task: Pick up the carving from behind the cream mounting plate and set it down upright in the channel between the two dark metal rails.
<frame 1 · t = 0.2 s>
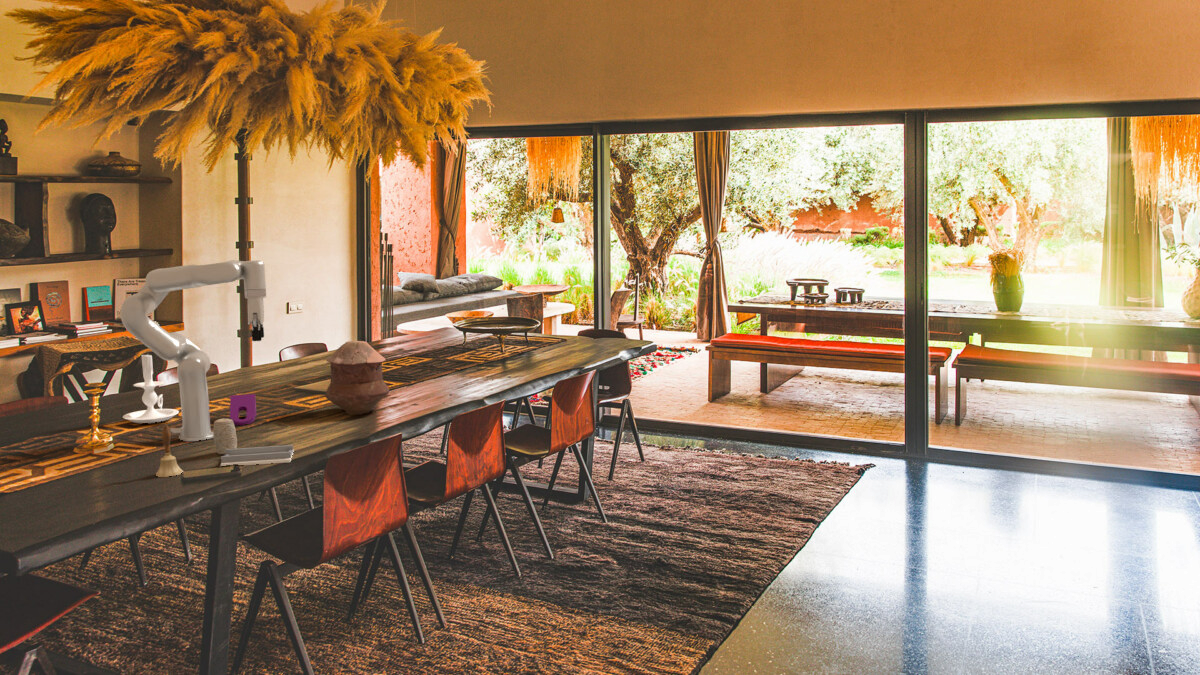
hand: (258, 339, 350), 36 cm above the table, tool pointing down, fingers open, 9 cm apart
hand bell: (169, 474, 302), on the table
candlestick: (153, 421, 381), on the table
pottery vessel: (358, 412, 393), on the table
mounting bracket: (243, 421, 378), on the table
rail plate: (258, 459, 319), on the table
carving: (226, 453, 328), on the table
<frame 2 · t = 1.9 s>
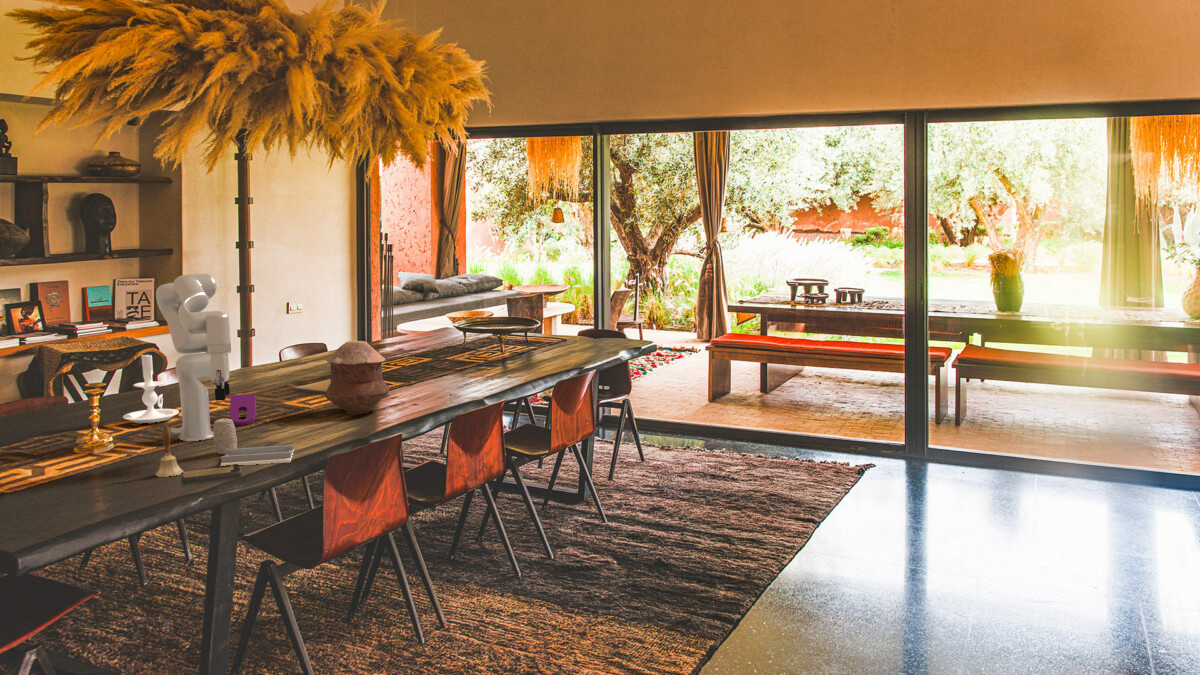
hand: (222, 397, 325), 20 cm above the table, tool pointing down, fingers open, 9 cm apart
nothing on the table moved.
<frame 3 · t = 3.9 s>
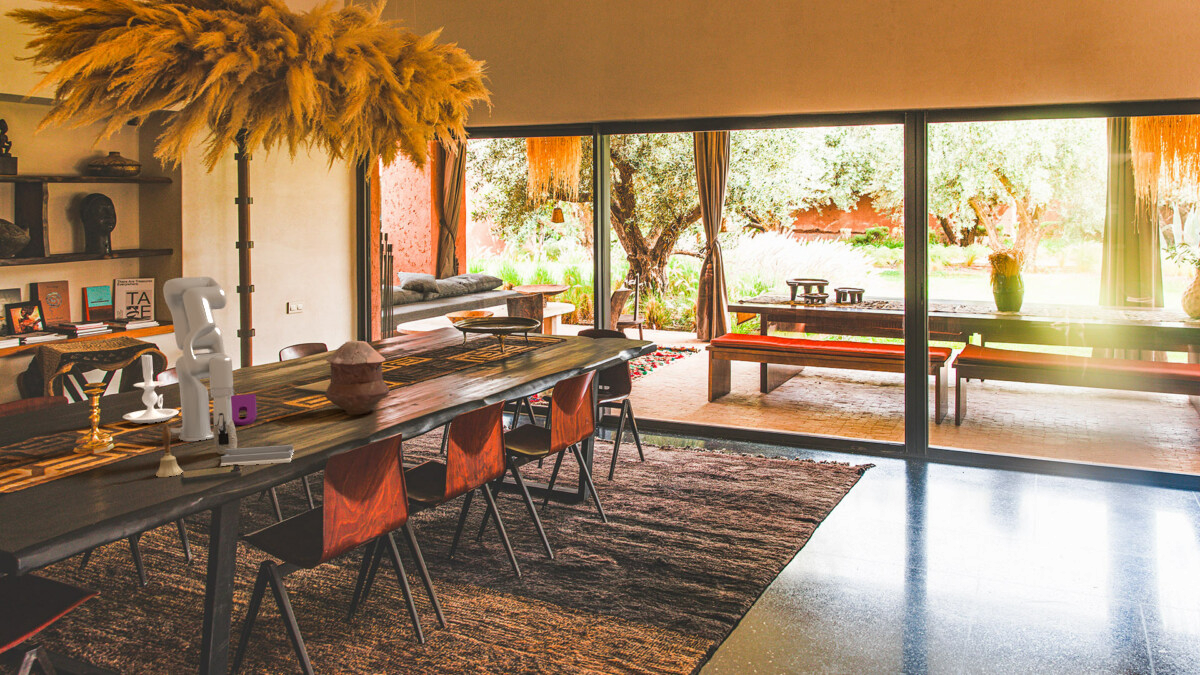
hand: (225, 441, 327), 4 cm above the table, tool pointing down, fingers closed on carving, 6 cm apart
carving: (226, 453, 328), on the table, touching gripper
everything else where it was.
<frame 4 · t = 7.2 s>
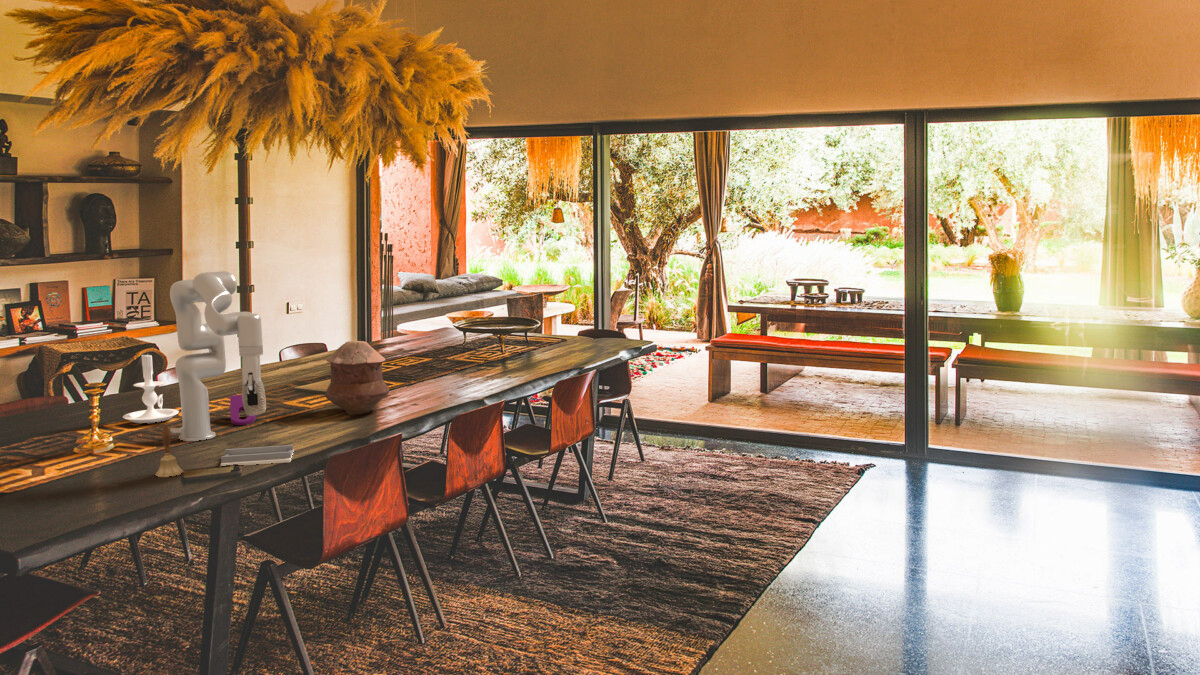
hand: (254, 402, 316), 20 cm above the table, tool pointing down, fingers closed on carving, 6 cm apart
carving: (255, 415, 317), point 15 cm above the table, touching gripper
everything else where it was.
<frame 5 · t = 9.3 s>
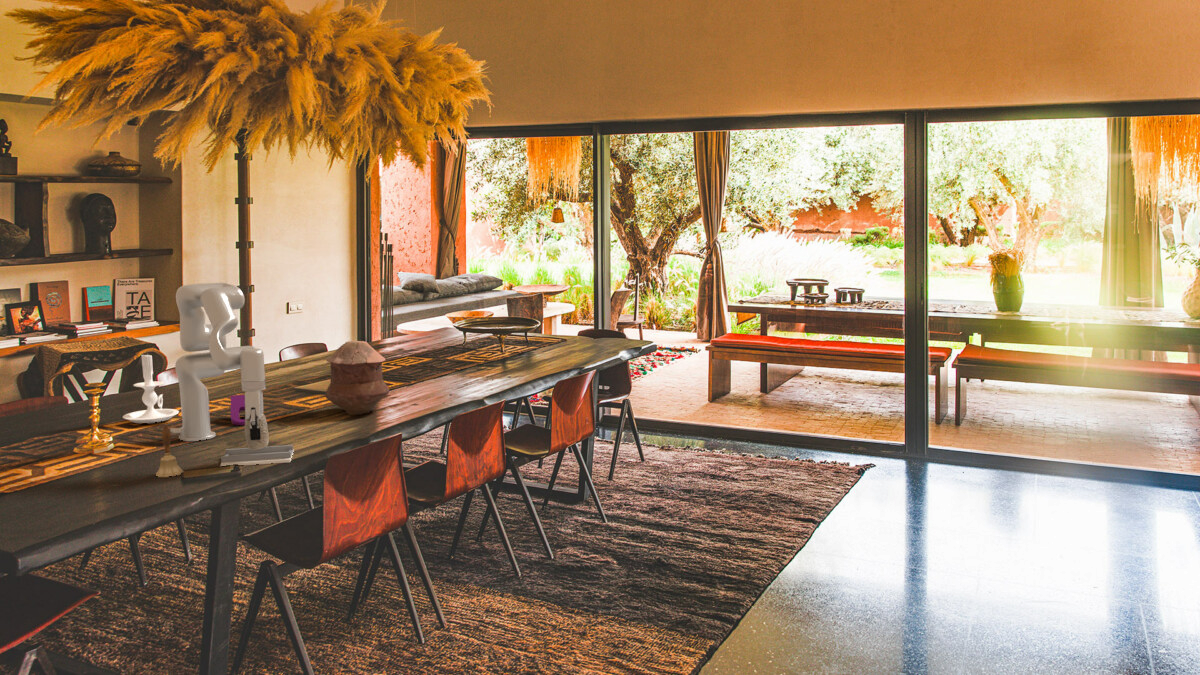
hand: (256, 436, 318), 8 cm above the table, tool pointing down, fingers closed on carving, 6 cm apart
carving: (257, 449, 318), point 4 cm above the table, touching gripper
everything else where it was.
when the fingers open (6 cm above the table, at t = 10.6 s): carving drops 1 cm, resting on rail plate.
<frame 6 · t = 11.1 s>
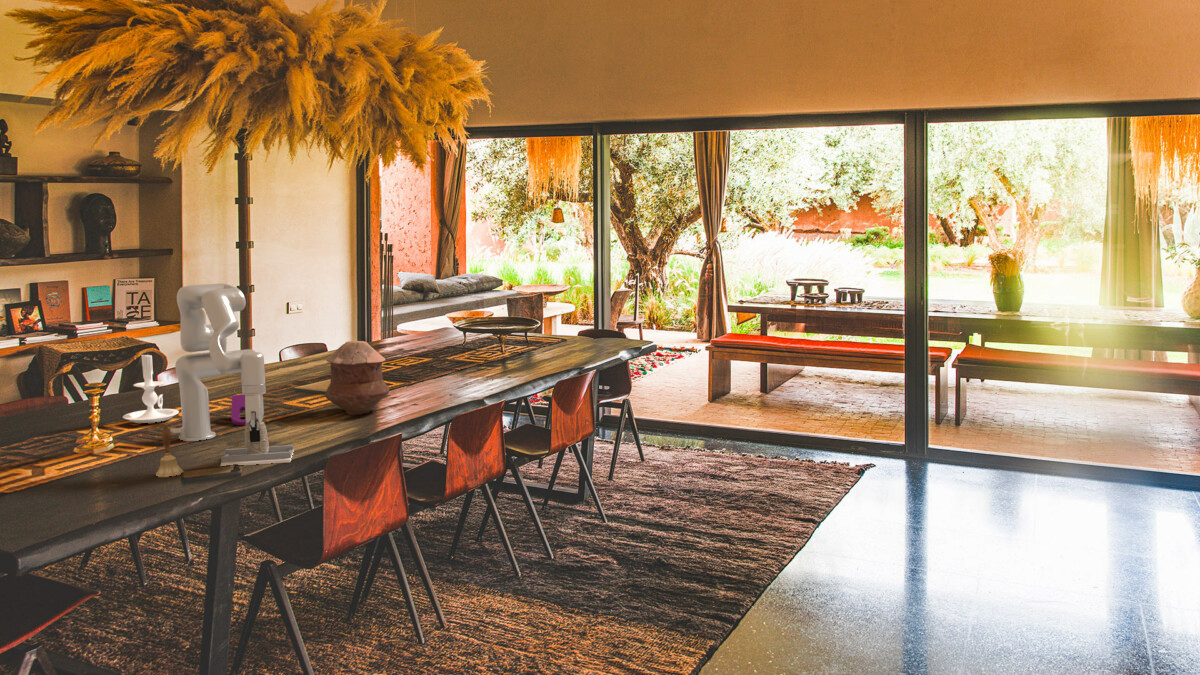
hand: (257, 438, 318), 7 cm above the table, tool pointing down, fingers open, 9 cm apart
carving: (257, 457, 319), point 1 cm above the table, touching rail plate
everything else where it was.
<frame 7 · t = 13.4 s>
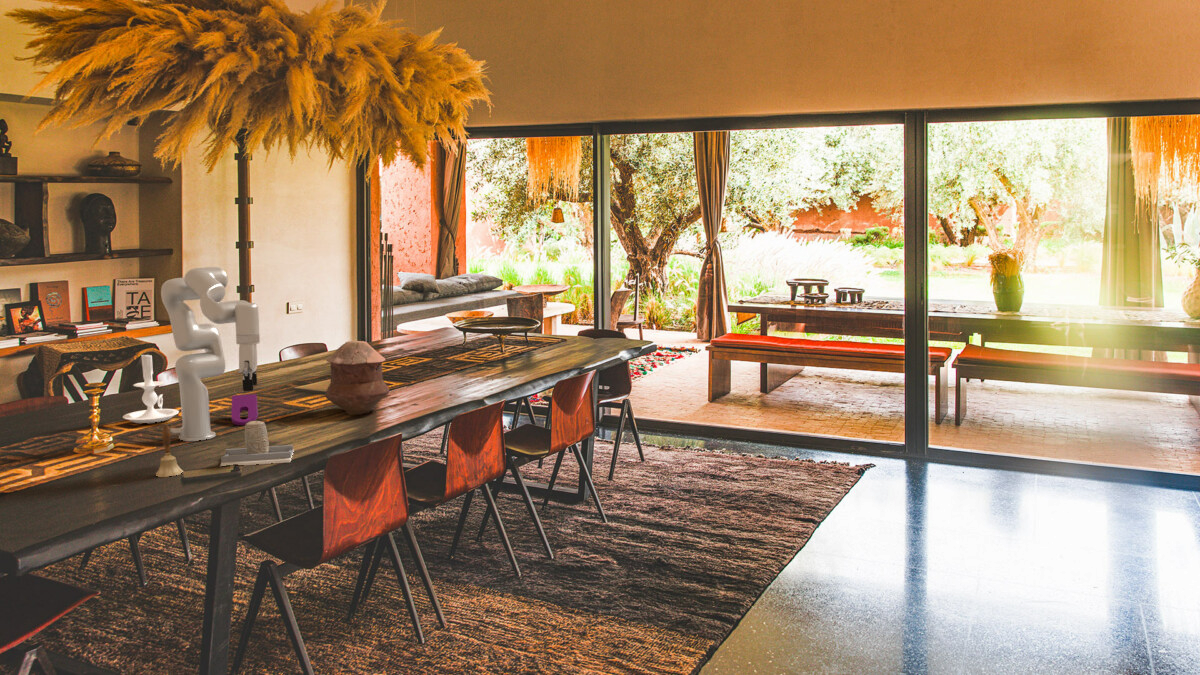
hand: (250, 387, 323), 23 cm above the table, tool pointing down, fingers open, 9 cm apart
nothing on the table moved.
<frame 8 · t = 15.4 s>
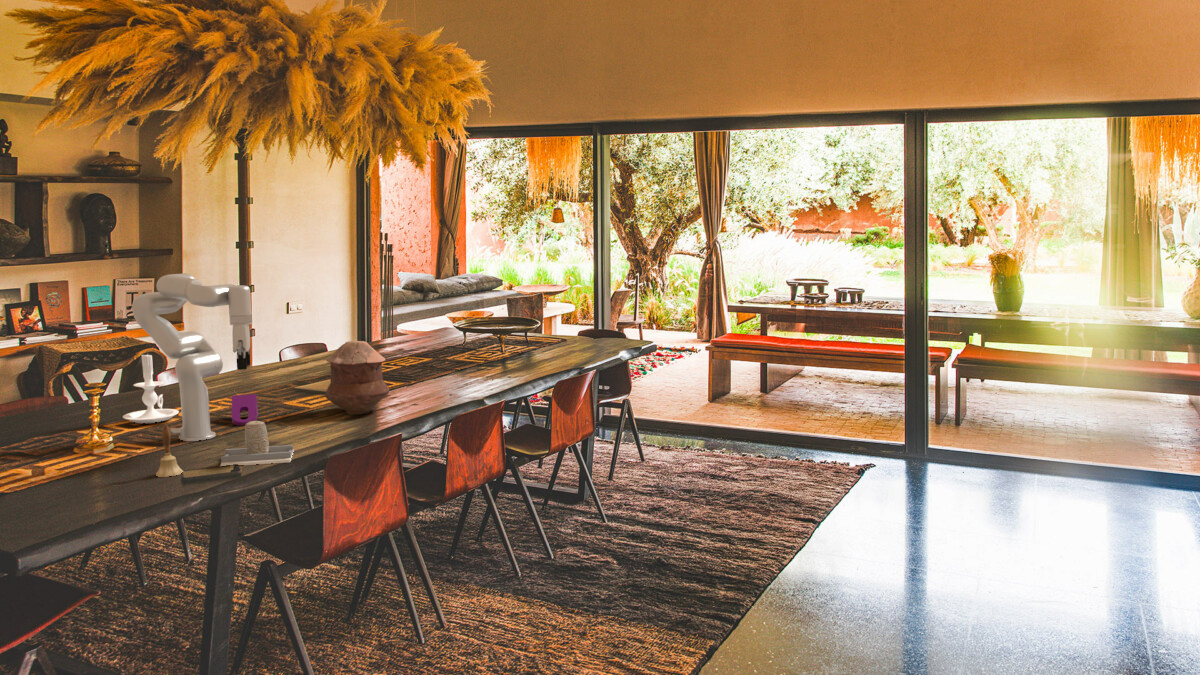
hand: (243, 367, 337), 28 cm above the table, tool pointing down, fingers open, 9 cm apart
nothing on the table moved.
at the end: carving 0.2 cm off-centre on the rail plate, point 0.8 cm above the rail plate's base; carving tilted 0°; the gripper is holding nothing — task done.
